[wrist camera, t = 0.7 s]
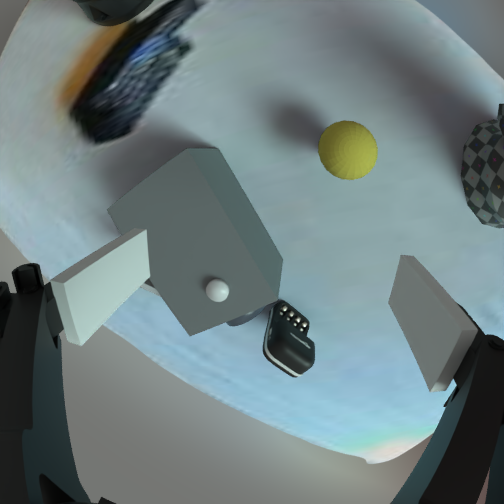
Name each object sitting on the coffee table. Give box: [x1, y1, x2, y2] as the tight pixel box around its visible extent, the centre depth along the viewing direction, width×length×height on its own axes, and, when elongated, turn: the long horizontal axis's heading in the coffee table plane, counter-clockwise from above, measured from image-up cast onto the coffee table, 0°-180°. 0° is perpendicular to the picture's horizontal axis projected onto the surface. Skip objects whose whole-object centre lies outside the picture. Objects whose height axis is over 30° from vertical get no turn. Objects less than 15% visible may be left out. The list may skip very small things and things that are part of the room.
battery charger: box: [263, 302, 315, 377], centre depth 39 cm, size 7×4×11 cm, turn 50°
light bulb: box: [318, 121, 378, 180], centre depth 30 cm, size 7×7×10 cm
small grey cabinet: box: [107, 148, 283, 336], centre depth 35 cm, size 20×12×13 cm, turn 30°
